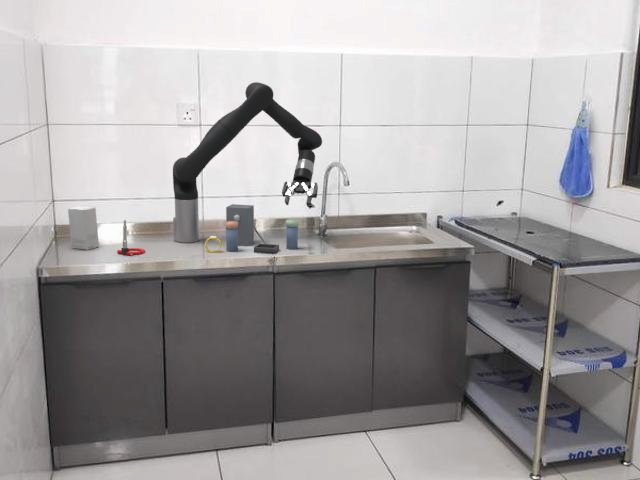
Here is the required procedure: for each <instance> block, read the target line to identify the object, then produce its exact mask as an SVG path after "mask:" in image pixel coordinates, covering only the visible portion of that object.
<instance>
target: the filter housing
mask: <svg viewBox="0 0 640 480" xmlns="http://www.w3.org/2000/svg"><path fill="white" fill-rule="evenodd" d="M254 207H255V205H254V204H253V205H251V204H250V205H249V204H236V203H235V204H233V203H232V204H230V205H228V206H226V207H225V210H226V212H225V215H226V216H225V217H226V221H225V222H227V221H237V222H238V246H245V247H249V246H250V245H252V244H254V243H255V237H254V236H255V235H254V233H255V232H254V231H255V226H254V225H255V223H254V222H255V220H254V219H255V215H254V214H255V212H254V211H255V208H254Z"/></svg>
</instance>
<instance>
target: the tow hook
mask: <svg viewBox="0 0 640 480" xmlns="http://www.w3.org/2000/svg"><path fill="white" fill-rule="evenodd" d="M122 230H123V231H122V234H123V235H122V238H123V240H122V247H121V248H120V249H117V252H116V253H117V254H119V255H123V256H129V257H132V256H134V255H142V254H143V255H144V254H145V253H146V249H144V248H139V247H128V240H127V238H128V236H127V233H128V231H127V230H128V227H127V220H125V219H124V220H123V226H122Z"/></svg>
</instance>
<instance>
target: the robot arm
mask: <svg viewBox="0 0 640 480" xmlns="http://www.w3.org/2000/svg"><path fill="white" fill-rule="evenodd" d="M245 97H246V99H245V100H244V102H242V103H241V105H239V106H238V107H237V108H235V109H234V110H231V111H230V112H228V113H226V114H225V115H224V116H222V117H221V118H220V119H218V120H217V121H216V122H215V123H214V124H213V125H212V126H211V127H210V128H209V130H208V131H207V132H206V134H205V135H204V137H203V138H202V140H201V142H200V143H199V145H198V146H197V147H196V148H195V149H194V150H193V151H192V152H190V153H189V155H187V156H186V157H180V158H178V159H176V160H175V162H174V163H173V165H172V183H173V188H172V189H173V192H174V212H175V213H174V217H173V220H172V222H173V223H172V224H173V226H172V227H173V241H174V242H178V243H194V242H199V240H200V229H199V227H200V225H199V224H200V222H199V221H200V219H199V216H200V215H199V191H198V187H197V186H198V185H197V178H198V177H199V175H200V174H201V173H202V172H203V170H204V169H205V168H206V167H207V165H208V164H209V163H210V162H211V161H212V160H213V159H214V158H215V157H216V156H217V155H219V153H221V151H223V150H224V149H225V148H226V147H227V146H228V145H229V144H230V143H231V142H232V141H233V140H234V139H235V138H236V137H237V136H238V135H239V134H240V133H241V132H242V131H243V129H245V127H246V126H247V125H248V124H249V123H250V122H251V121H252V120H253V119H254V118H255V117H256V116H258V115H259V114H260V113H261V112H262V111H263V112H264V113H265V114H266V115H268V116H269V118H271V119H273V120H274V121H275V123H277V125H279V126H280V127H281V128H282V130H283V131H285V132H286V133H287V134H288V135H289V136H290V137H291V138H293V139H298V141H297V152H298V153H297V154H298V158H297V162H296V165H295V169H294V173H293V178H292V181H291V182H288V181H284V183H283V187H282V189H281V195H282V197H284V203H285V204H286V205H285V206H289V203H290V198H291V197H292V196H294V195H295V194H296V195H299V194H301V195H303V194H304V195H305V194H306V196H307V197H306V206H307V207H309V206H310V205H311V204H312V199H317V197H318V189H319V186H318V182H314V183H312V180H313V175H314V168H315V167H314V166H315V160H316V155H315V152H314V150H317V149H318V148H320V147H321V146H322V144H323V139H322V137H321V136H322V135H320V134H319V133H318V132H317V131H316V130H314V129H312V128H311V127H308V126H307V125H304V123H302V122H301V121H300V120H299V118H297V117H296V116H295V115H293V113H291V111H288V110H287V109H285V108H284V107H283V106H282V105H280V104H279V103H278V102H277V101H276V100H275V99H273V98H274V91H273V89H272V87H270V86H269V85H267V84H265V83H262V82H258V81H257V82H256V81H255V82H251V83H250V84H248V85H247V87H246V89H245ZM311 188H312V190H313V191H312V193H311V191H310V189H311Z"/></svg>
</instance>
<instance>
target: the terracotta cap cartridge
mask: <svg viewBox="0 0 640 480" xmlns="http://www.w3.org/2000/svg"><path fill="white" fill-rule="evenodd" d="M225 249H226V250H225V251H226V252H228V253H229V252H230V253H235V252H238V250H239V245H238V222H237V221H227V222H226V221H225Z"/></svg>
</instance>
